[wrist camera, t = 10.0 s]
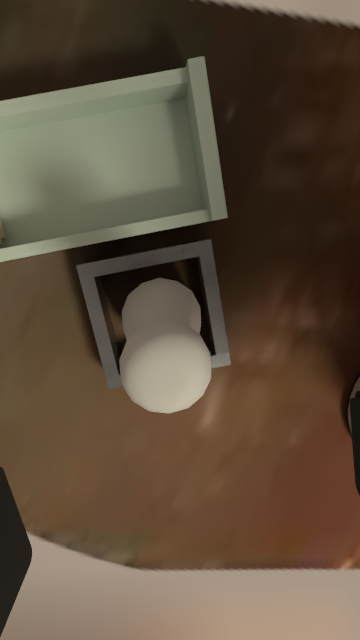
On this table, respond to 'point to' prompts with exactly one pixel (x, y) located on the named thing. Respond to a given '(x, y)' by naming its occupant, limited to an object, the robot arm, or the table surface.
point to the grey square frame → (97, 268)
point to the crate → (1, 233)
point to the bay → (108, 162)
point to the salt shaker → (163, 347)
